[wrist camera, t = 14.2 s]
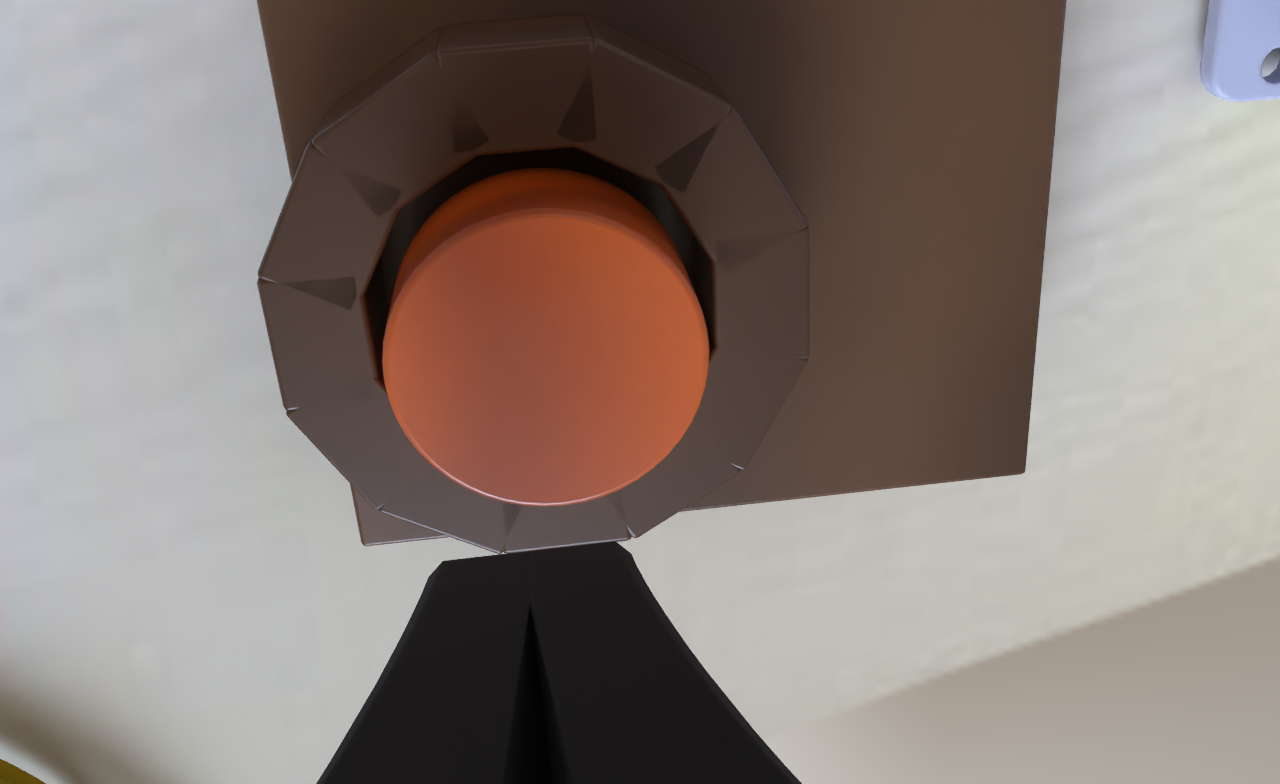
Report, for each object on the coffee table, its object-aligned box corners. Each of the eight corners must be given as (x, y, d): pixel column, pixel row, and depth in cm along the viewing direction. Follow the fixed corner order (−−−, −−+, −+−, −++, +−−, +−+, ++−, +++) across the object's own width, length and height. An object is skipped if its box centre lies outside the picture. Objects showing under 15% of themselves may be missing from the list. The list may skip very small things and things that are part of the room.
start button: (681, 152, 14) (704, 194, 13) (694, 425, 16) (716, 491, 14) (371, 180, 14) (356, 226, 12) (416, 453, 15) (407, 525, 14)
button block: (1008, -101, 17) (1147, -79, 13) (975, 411, 20) (1077, 539, 17) (261, -45, 16) (193, -4, 12) (359, 476, 20) (328, 625, 16)
